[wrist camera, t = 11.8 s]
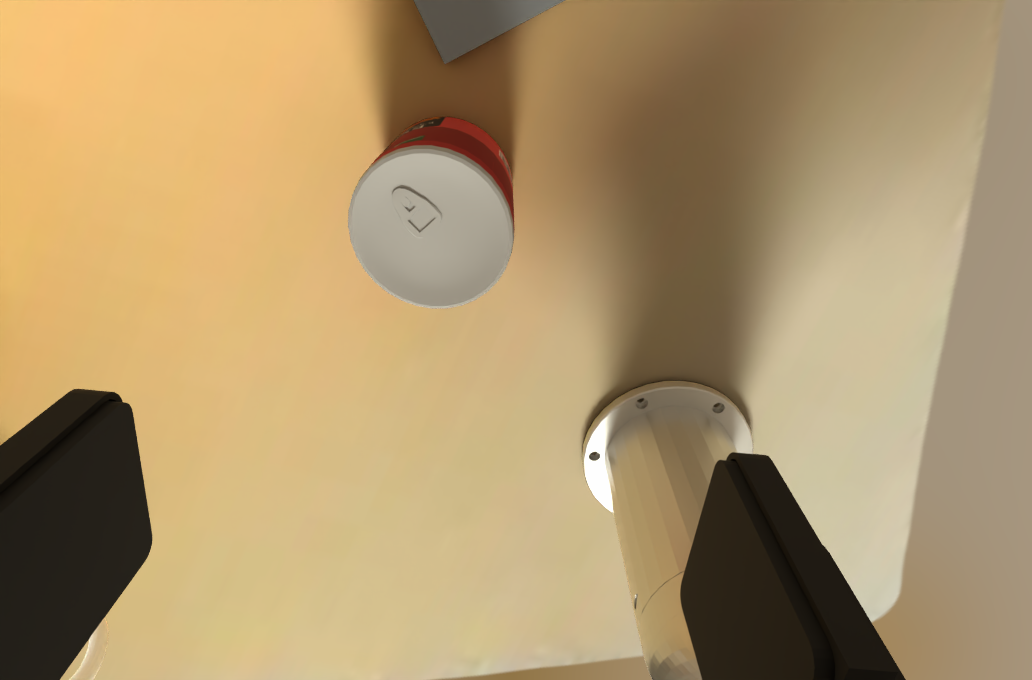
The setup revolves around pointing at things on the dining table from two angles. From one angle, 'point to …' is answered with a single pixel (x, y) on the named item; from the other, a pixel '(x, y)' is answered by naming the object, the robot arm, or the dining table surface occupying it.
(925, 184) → the dining table surface
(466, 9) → the board
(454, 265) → the canned food
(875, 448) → the dining table surface
